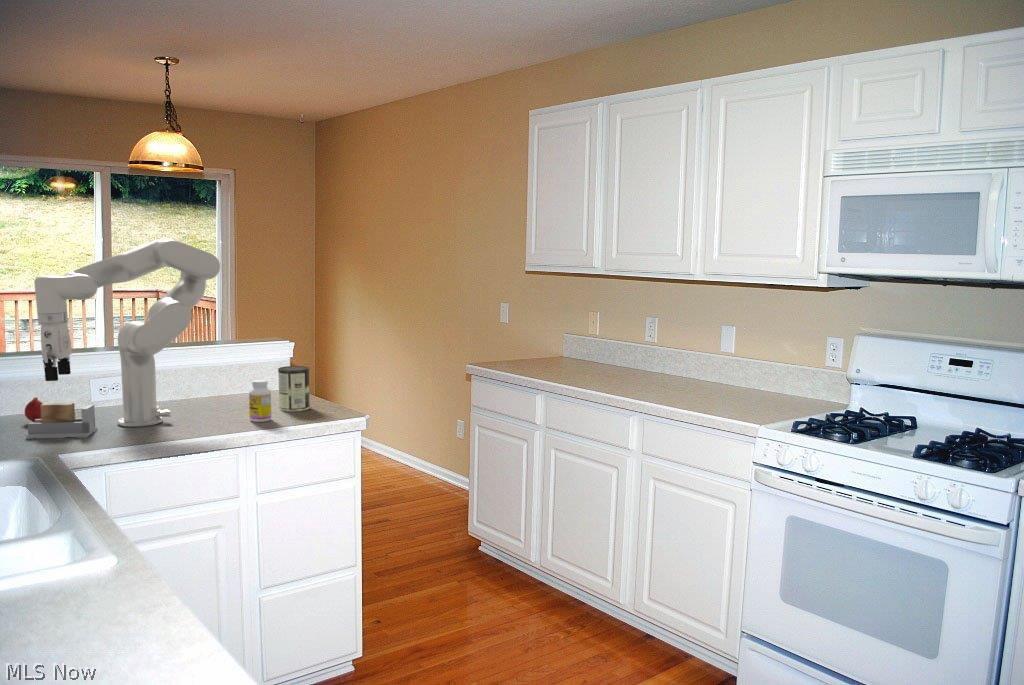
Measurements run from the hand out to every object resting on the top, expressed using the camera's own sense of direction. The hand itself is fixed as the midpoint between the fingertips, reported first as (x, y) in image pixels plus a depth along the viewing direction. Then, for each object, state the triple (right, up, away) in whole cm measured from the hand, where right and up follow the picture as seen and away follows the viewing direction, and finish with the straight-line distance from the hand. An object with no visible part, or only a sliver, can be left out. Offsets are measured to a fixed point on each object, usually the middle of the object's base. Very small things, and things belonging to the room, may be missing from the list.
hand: (58, 377), depth 231 cm
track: (0, -17, +2) cm, 17 cm away
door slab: (-1, -16, +2) cm, 16 cm away
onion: (-16, -15, +15) cm, 26 cm away
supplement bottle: (+51, -15, +24) cm, 58 cm away
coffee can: (+57, -13, +42) cm, 72 cm away
